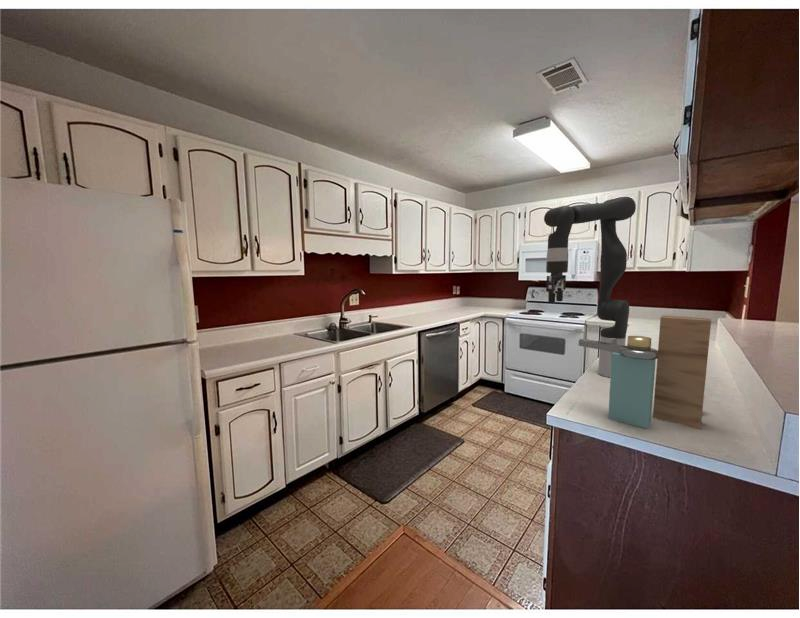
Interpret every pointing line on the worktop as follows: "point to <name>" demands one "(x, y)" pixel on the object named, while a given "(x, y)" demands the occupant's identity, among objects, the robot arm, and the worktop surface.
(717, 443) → the worktop surface
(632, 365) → the tall block
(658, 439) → the worktop surface
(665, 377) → the tall stand
